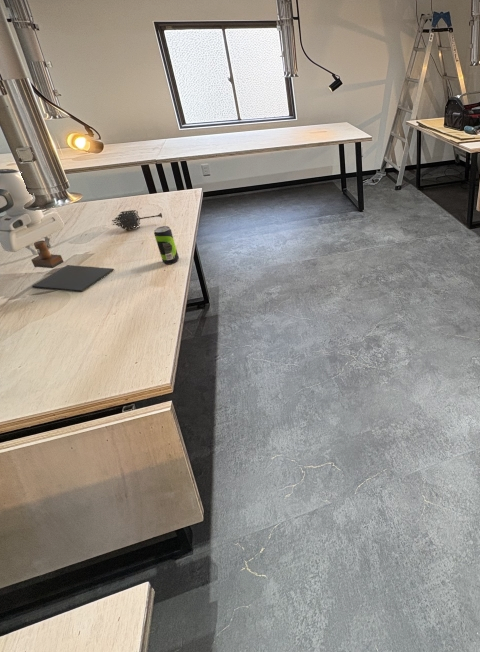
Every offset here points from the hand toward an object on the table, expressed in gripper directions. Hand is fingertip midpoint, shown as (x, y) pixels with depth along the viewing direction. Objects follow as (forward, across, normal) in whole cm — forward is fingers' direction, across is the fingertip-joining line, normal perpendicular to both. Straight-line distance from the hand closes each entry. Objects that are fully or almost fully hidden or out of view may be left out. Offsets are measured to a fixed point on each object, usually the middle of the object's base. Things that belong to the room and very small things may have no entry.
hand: (42, 250), depth 146 cm
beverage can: (+18, -27, +27) cm, 42 cm away
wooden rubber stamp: (+6, 0, 0) cm, 6 cm away
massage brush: (+18, -56, -12) cm, 60 cm away
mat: (+18, -9, -3) cm, 20 cm away
